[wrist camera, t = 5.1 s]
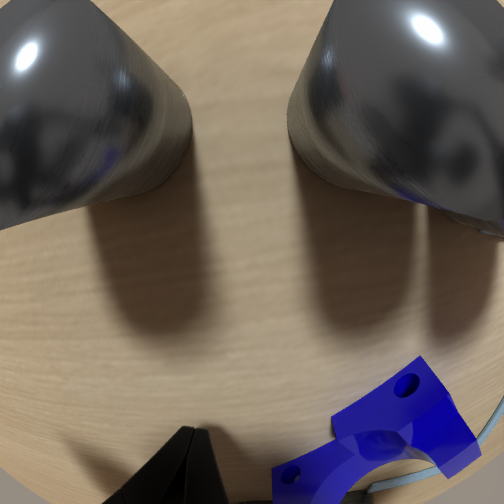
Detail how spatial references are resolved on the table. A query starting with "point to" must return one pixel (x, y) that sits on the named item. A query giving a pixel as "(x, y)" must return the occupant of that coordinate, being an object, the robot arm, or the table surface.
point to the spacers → (298, 113)
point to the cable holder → (381, 439)
